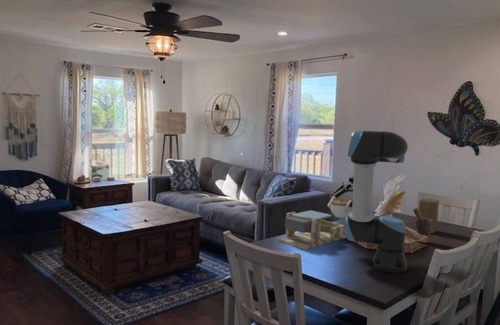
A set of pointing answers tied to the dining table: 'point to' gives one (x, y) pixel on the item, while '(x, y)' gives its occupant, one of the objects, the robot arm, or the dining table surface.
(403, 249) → the robot arm
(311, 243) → the stand
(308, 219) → the grey flat box
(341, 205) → the lidded jar
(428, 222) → the mortar and pestle
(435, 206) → the block
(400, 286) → the dining table surface
